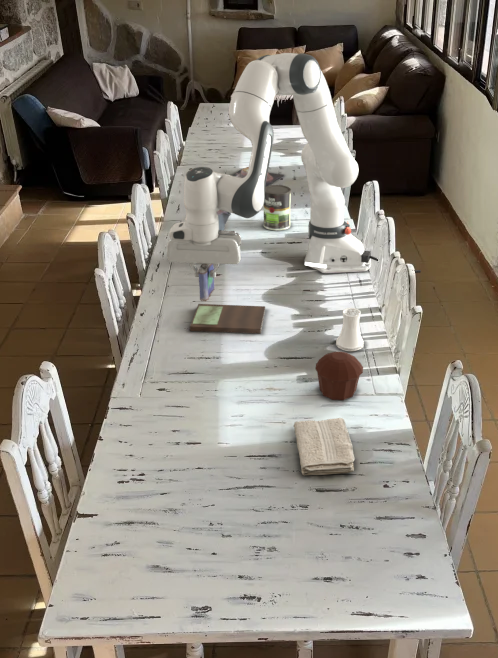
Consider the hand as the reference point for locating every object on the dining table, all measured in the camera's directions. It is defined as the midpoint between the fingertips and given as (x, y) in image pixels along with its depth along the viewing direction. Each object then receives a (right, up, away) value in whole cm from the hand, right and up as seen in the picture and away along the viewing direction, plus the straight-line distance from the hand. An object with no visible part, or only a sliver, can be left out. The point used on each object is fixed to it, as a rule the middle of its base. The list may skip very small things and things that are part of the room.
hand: (205, 276), depth 204 cm
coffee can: (+18, +29, +71) cm, 79 cm away
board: (+6, -12, +7) cm, 15 cm away
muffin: (+36, -32, -23) cm, 53 cm away
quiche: (+7, +59, +119) cm, 133 cm away
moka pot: (-3, +12, +45) cm, 46 cm away
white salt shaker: (+40, -19, -4) cm, 45 cm away
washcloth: (+31, -44, -43) cm, 69 cm away
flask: (0, -5, +4) cm, 6 cm away
